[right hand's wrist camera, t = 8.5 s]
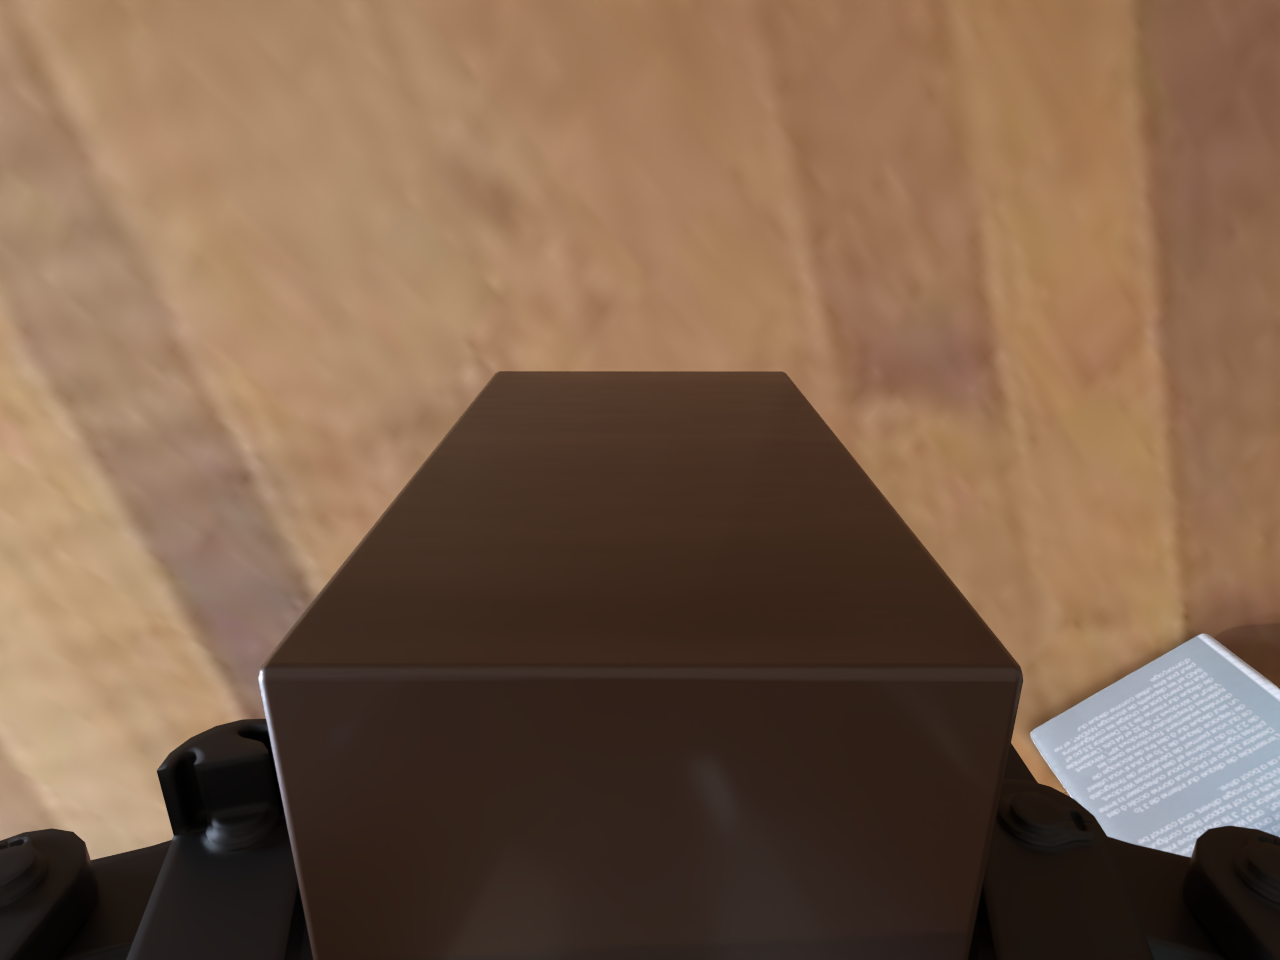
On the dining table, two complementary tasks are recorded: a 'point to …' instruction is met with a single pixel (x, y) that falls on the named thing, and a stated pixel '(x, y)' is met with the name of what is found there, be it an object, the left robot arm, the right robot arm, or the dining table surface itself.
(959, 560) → the dining table surface
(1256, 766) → the hard drive box
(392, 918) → the walnut beam
